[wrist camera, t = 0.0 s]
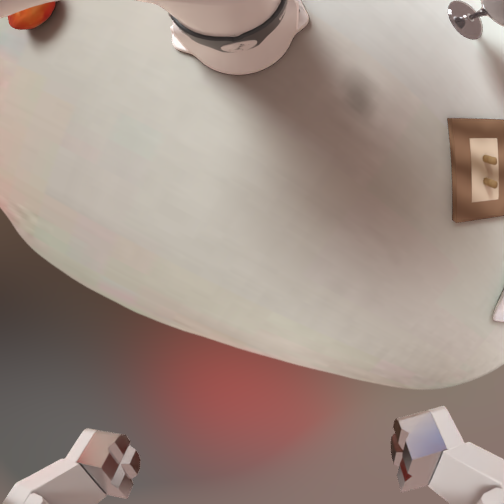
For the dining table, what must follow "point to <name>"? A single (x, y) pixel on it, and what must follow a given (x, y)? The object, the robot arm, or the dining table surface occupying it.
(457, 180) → the pin board
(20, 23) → the tomato
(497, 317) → the salad plate
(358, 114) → the dining table surface
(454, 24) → the wine glass
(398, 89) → the dining table surface
